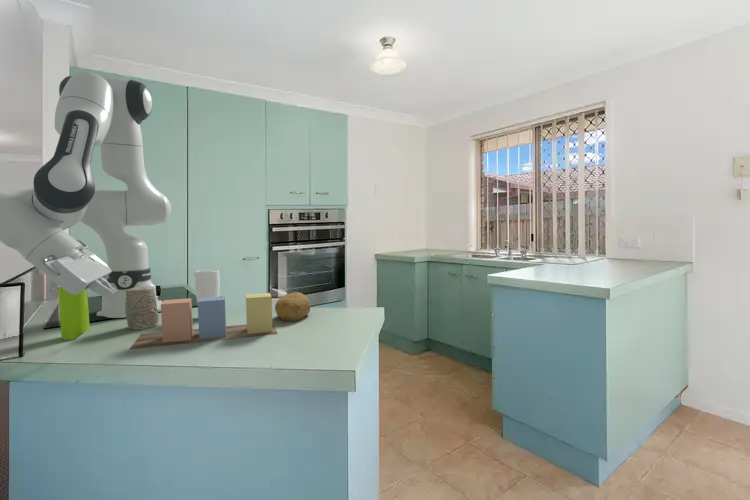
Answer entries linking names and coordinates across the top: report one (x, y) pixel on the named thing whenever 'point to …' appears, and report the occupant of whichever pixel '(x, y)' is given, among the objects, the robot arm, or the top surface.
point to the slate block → (211, 317)
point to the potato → (292, 307)
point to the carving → (141, 308)
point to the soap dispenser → (73, 314)
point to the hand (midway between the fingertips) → (113, 295)
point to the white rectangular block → (207, 283)
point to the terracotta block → (176, 320)
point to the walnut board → (196, 337)
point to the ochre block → (259, 313)
